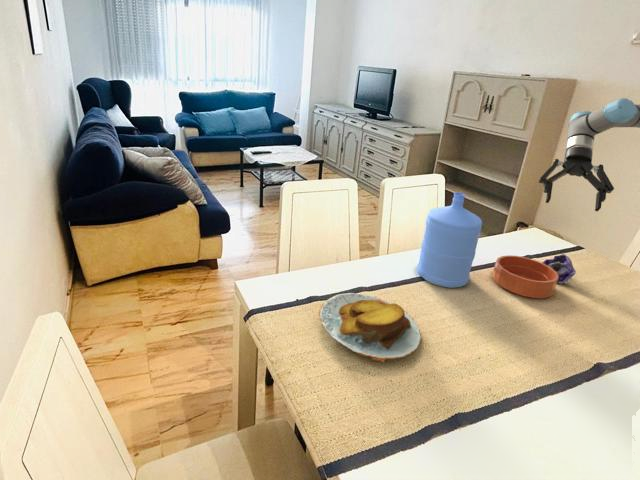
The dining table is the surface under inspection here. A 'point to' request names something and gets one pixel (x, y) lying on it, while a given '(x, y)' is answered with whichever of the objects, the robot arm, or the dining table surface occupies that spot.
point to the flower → (561, 267)
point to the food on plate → (370, 326)
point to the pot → (525, 276)
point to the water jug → (449, 244)
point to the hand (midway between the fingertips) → (572, 205)
